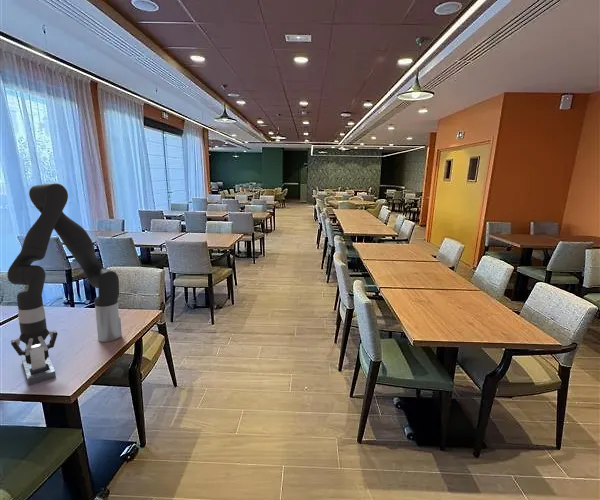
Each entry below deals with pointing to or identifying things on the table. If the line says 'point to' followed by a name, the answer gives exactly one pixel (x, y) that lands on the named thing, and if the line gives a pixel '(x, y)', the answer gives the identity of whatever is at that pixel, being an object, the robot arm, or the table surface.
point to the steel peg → (37, 356)
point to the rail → (40, 376)
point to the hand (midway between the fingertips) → (37, 360)
